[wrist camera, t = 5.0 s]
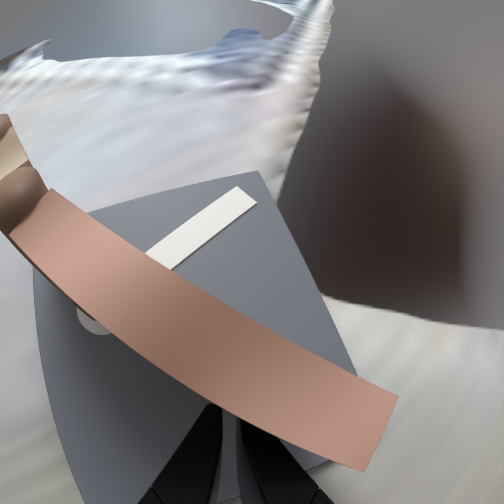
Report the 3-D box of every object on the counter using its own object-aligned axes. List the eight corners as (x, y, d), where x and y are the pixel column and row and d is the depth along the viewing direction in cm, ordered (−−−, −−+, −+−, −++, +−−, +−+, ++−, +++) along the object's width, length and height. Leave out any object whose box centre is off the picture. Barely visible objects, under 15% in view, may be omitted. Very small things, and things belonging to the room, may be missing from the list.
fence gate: (76, 306, 14) (-21, 204, 6) (98, 278, 15) (21, 158, 7) (276, 439, 12) (365, 477, 4) (296, 404, 13) (405, 391, 5)
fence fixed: (101, 277, 15) (25, 153, 7) (77, 296, 15) (-17, 186, 6) (68, 227, 17) (5, 108, 8) (46, 244, 16) (-27, 132, 8)
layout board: (376, 430, 13) (381, 430, 13) (97, 519, 9) (93, 523, 9) (257, 175, 21) (258, 169, 20) (36, 235, 17) (32, 230, 16)
